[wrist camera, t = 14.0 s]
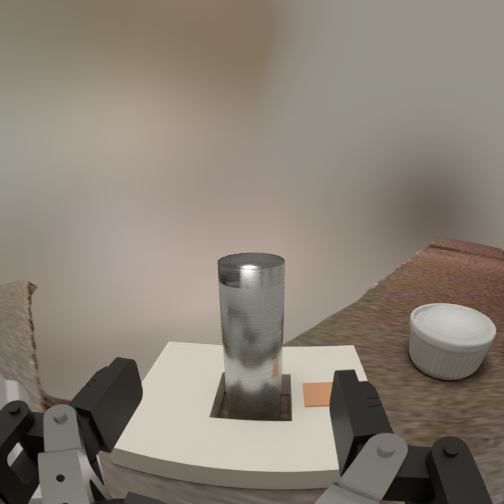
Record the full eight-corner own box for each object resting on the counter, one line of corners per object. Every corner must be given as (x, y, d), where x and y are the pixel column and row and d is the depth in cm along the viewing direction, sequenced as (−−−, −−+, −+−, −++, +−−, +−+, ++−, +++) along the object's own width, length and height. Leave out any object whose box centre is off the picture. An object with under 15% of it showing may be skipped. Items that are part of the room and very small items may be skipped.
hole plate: (113, 463, 16) (101, 442, 16) (172, 359, 32) (168, 339, 31) (386, 479, 14) (397, 459, 14) (350, 364, 30) (353, 343, 29)
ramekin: (423, 330, 36) (430, 295, 34) (491, 353, 27) (502, 316, 26) (385, 364, 29) (393, 323, 28) (469, 399, 20) (486, 355, 19)
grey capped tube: (224, 431, 21) (211, 269, 18) (232, 399, 25) (224, 252, 22) (278, 434, 21) (284, 270, 17) (280, 401, 25) (284, 252, 22)
